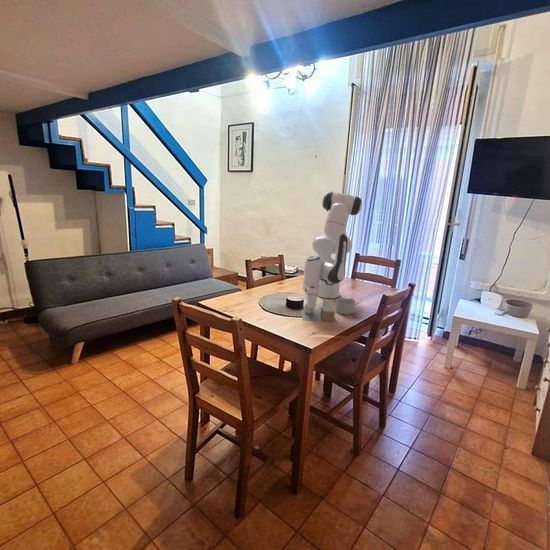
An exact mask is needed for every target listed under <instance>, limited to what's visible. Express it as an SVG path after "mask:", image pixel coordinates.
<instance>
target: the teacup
mask: <svg viewBox="0 0 550 550" xmlns="http://www.w3.org/2000/svg"><path fill="white" fill-rule="evenodd" d="M355 306H356V300H355V299H354V298H347V297H341V298H336V299H335V311H336V312H337V313H338V314H340V315H347V316H349V315H352V314H354V312H355V309H356V308H355Z"/></svg>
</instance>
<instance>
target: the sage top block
mask: <svg viewBox="0 0 550 550" xmlns="http://www.w3.org/2000/svg"><path fill="white" fill-rule="evenodd" d="M334 307H335V302H334V299H329V298H323V299H322V307H321V308H323V311H324V312H333V311H334V309H335V308H334Z"/></svg>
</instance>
